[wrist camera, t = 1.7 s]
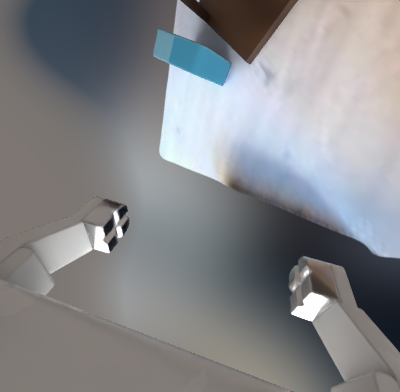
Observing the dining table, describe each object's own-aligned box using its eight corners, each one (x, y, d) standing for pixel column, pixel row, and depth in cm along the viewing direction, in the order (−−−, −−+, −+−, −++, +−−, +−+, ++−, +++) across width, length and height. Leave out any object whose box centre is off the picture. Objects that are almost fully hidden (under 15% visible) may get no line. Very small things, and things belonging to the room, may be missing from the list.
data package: (185, 69, 49) (149, 54, 39) (191, 47, 47) (154, 26, 37) (225, 87, 45) (196, 75, 35) (233, 64, 43) (205, 45, 33)
